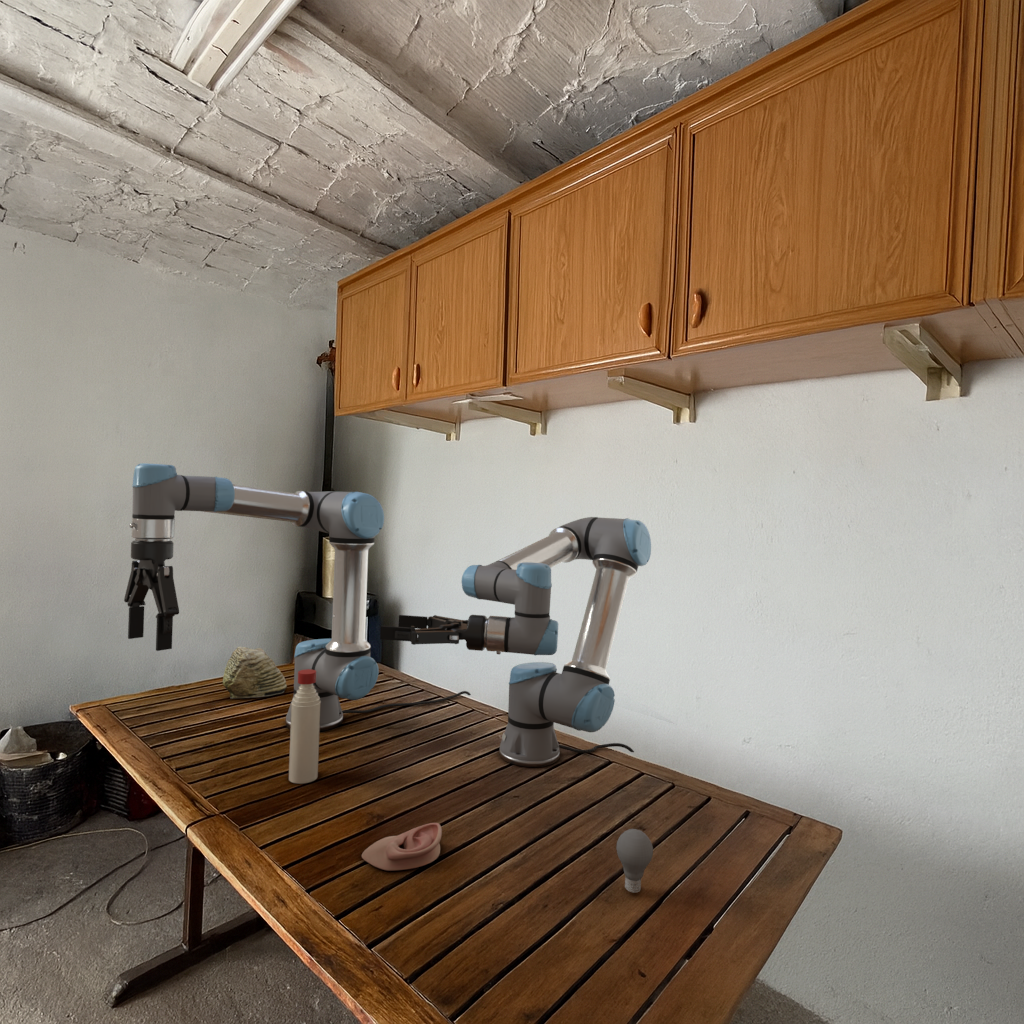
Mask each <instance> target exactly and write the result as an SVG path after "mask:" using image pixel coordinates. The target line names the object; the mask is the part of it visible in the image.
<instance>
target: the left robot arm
mask: <svg viewBox="0 0 1024 1024" xmlns="http://www.w3.org/2000/svg"><path fill="white" fill-rule="evenodd" d="M131 487H132V515H131V520H132V521H131V522H130V523H129V528H130V529H131V537H132V539H135V540H132V541H131V542H130V558H131V559H132V561H131V566H130V567H131V569H130V573H129V574H130V575H129V578H128V582H127V587H126V590H125V594H124V598H123V602H124V603H127V607H128V621H127V622H128V626H127V627H128V628H127V639H128V640H133V639H140V638H144V629H145V606H146V604H147V603H146V601H145V599H146V597H147V594H148V592H149V590H151V592H152V595H153V599H154V602H155V605H156V609H157V614H156V615H155V619H156V630H155V631H156V633H155V651H157V652H159V651H166V650H172V649H173V627H174V625H173V623H174V617H175V616H176V615H179V614H180V606H179V602H178V598H177V597H178V596H177V590H176V585H175V580H174V567H173V565H166V562H165V561H166V560H171V559H173V557H174V542H173V540H172V539H173V538H174V537H175V522H176V521H175V518H176V517H175V516H176V515H175V513H176V512H183V511H184V512H202V513H203V512H204V513H212V514H221V515H230V516H237V517H245V518H246V517H247V518H253V519H254V518H256V519H263V520H272V521H280V522H290V524H291V525H292V526H294V527H299V528H306V529H311V530H314V531H318V532H322V533H325V534H329V535H328V543H329V544H330V546H331V547H332V548H333V549H334V561H333V562H334V565H333V566H334V567H333V589H332V590H333V591H332V621H331V622H332V624H331V638H318V639H308V640H304V641H300V642H299V643H297V645H296V646H295V650H294V655H293V657H294V672H293V673H294V674H293V695H292V696H293V697H292V699H293V698H294V697H295V694H296V693H297V690H299V687H300V685H301V684H299V683H298V671H300V670H306V669H311V670H316V682H315V683H313V686H315V689H316V692H317V693H318V696H319V697H320V701H321V707H320V732H325V731H329V730H332V729H335V728H337V727H339V726H340V725H342V723H343V722H344V714H367V713H368V714H369V713H372V712H375V711H378V710H380V709H385V708H392V707H409V706H420V705H421V706H422V705H429V704H436V703H441V702H444V701H447V700H451V699H455V698H457V697H460V696H461V695H464V694H465V695H467V696H472V694H471V692H469V691H467V690H463V691H460V692H458V693H456V694H453V695H449V696H446V697H442V698H438V699H433V700H426V701H416V702H414V701H413V702H401V703H389V704H388V703H387V704H382V705H379V706H375V707H372V708H369V709H362V710H361V709H359V710H358V709H346V710H343V709H342V706H341V702H340V699H339V698H341V699H342V700H343V699H344V700H348V701H349V700H350V701H357V700H360V699H362V698H364V697H365V696H367V695H368V694H370V692H371V690H372V689H374V687H375V685H376V683H377V681H378V678H379V674H380V673H379V671H380V670H379V669H380V668H379V665H378V663H377V662H376V660H375V659H374V658H373V657H371V648H372V646H371V643H370V642H368V640H367V639H366V623H367V622H366V621H367V595H368V594H367V593H368V569H369V550H370V548H371V547H373V546H374V545H375V540H376V539H375V537H376V536H377V535H379V534H380V531H381V530H383V527H384V524H385V512H384V509H383V506H382V504H381V503H380V501H378V498H376V497H375V496H373V495H372V494H370V493H366V492H361V491H337V490H336V491H335V490H333V491H332V490H330V491H307V490H306V491H305V490H296V491H295V492H294V493H293V492H287V491H281V490H273V489H268V488H261V487H253V486H247V485H240V484H234V483H233V482H232V481H231V480H230V479H229V478H226V477H218V476H204V475H203V476H202V475H182V474H178V472H177V468H176V466H175V465H172V464H165V463H164V464H163V463H143V462H142V463H137V465H135V467H134V471H133V478H132V485H131ZM291 703H292V701H291V702H290V704H289V708H288V711H287V713H286V715H285V726H286V728H287V729H289V730H290V725H291Z"/></svg>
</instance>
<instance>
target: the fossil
mask: <svg viewBox="0 0 1024 1024" xmlns="http://www.w3.org/2000/svg"><path fill="white" fill-rule="evenodd" d="M222 676H223V677H222V685H223V687H224V688H225V690H226V691H228V693H229V698H230V699H250V698H264V697H271V696H275V695H281V694H284V693H285V691H286V689H287V687H288V686H287V680H286V678H285V676H284V674H283V673H282V672H281V669H279V668H278V667H277V665H276V663H275V662H274V660H273V659H272V658H271V657H270V656H269V655H268V654H267V653H266V652H265V650H264V649H263V648H260V647H258V648H251V647H247V646H246V647H245V646H238V647H237V648H236V649H235V650H233V651H232V653H231V656H230V657H229V659H228V660H227V663H226V666H225V668H224V671H223V675H222Z"/></svg>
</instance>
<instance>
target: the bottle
mask: <svg viewBox="0 0 1024 1024" xmlns="http://www.w3.org/2000/svg"><path fill="white" fill-rule="evenodd" d="M291 702H292V703H291ZM291 702H290V704H291V725H290V729H289V757H288V781H289V782H290V783H293V784H297V785H298V784H308V783H312V782H314V781H316V780H317V779H318V777H319V757H320V756H319V755H320V754H319V753H320V732H321V731H320V707H321V701H320V697H319V696H318V693H317V692H316V689H315V686H313V684H301V685H300V687H299V690H297V693H296V694H295V697H294V698H293V697H292V699H291Z"/></svg>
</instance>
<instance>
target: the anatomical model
mask: <svg viewBox="0 0 1024 1024" xmlns="http://www.w3.org/2000/svg"><path fill="white" fill-rule="evenodd" d="M442 835H443V829H442V826H441V824H440V823H439V822H430V823H425V824H422V825H419V826H417V827H414V828H412V829H410V830H407V831H404V832H402V833H399V834H397V835H389V836H385V837H383V838H381V839H379V840H377V841H375V842H373V843H372V844H370V845H369V846H368V847H367V848H366V849H364V851H362V852H361V853H362V854H361V858H362V859H363V861H365V862H366V863H368V864H370V865H371V866H373V867H375V868H377V869H379V870H384V871H387V872H389V871H390V872H391V871H403V870H412V869H416V868H419V867H423V866H426V865H428V864H431V863H433V862H434V861H435V860H437V859H439V856H440V855H441V844H440V842H441V839H442Z"/></svg>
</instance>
